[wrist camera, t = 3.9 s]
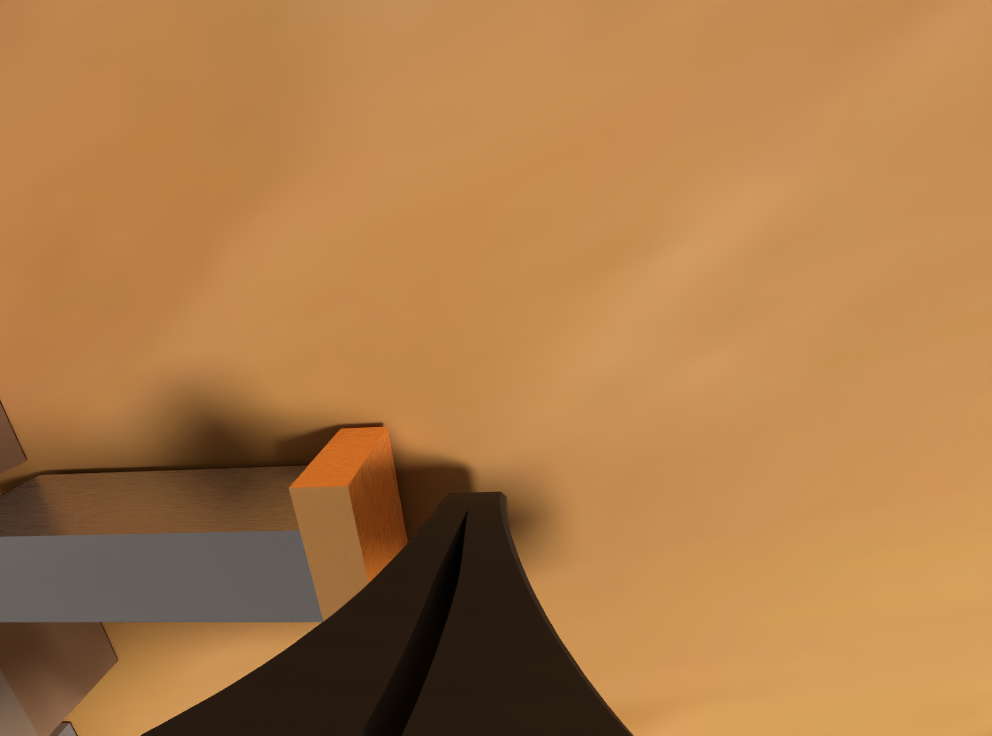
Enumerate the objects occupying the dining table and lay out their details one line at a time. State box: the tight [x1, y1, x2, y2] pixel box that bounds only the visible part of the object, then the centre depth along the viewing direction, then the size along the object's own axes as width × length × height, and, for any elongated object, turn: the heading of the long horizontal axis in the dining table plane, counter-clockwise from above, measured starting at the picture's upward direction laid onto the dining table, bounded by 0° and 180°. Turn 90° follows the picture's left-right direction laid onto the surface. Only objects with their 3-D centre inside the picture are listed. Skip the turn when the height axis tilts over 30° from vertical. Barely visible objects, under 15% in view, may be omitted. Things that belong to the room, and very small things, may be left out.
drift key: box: [0, 427, 408, 622], centre depth 11 cm, size 4×10×3 cm, turn 95°
